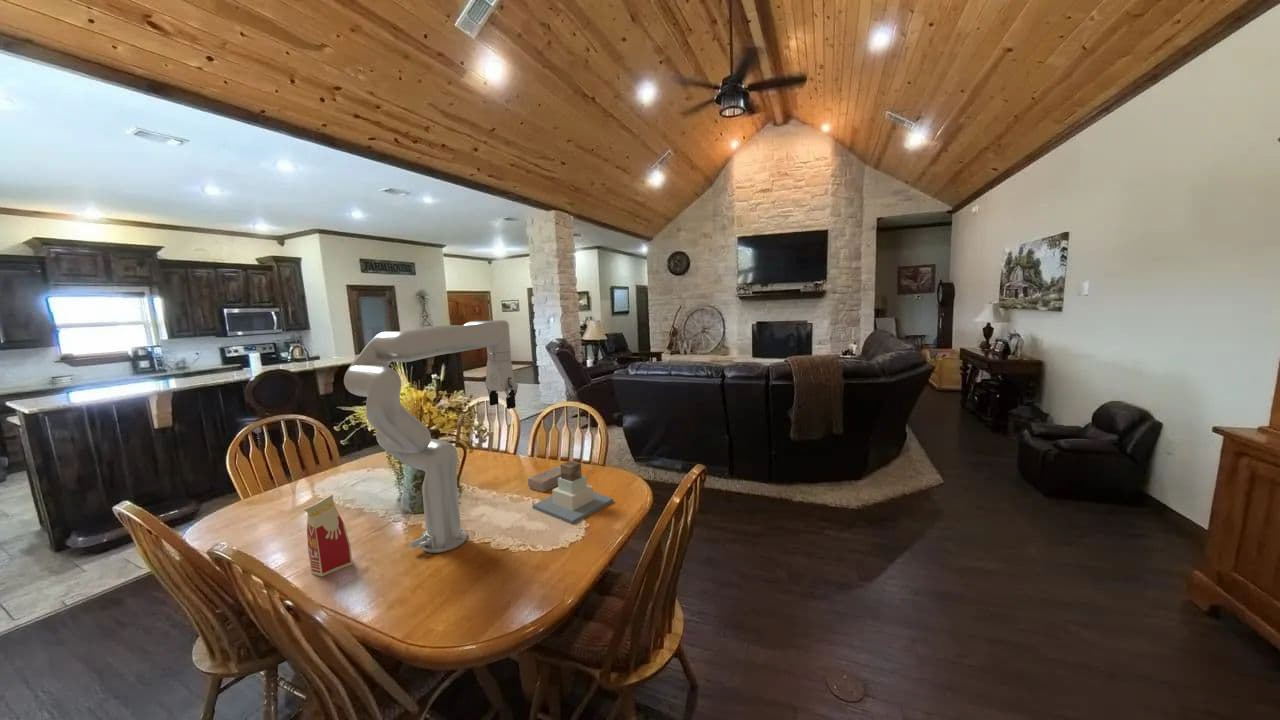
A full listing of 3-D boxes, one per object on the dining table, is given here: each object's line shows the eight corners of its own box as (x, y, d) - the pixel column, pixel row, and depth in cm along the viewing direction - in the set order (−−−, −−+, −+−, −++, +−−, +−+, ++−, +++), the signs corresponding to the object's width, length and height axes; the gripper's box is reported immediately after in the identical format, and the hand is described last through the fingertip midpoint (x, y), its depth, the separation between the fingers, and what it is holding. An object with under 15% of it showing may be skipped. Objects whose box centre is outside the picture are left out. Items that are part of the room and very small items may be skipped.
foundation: (572, 524, 144) (571, 506, 144) (532, 508, 157) (531, 491, 156) (613, 501, 160) (612, 485, 159) (574, 488, 172) (573, 473, 171)
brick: (556, 474, 187) (555, 464, 187) (571, 478, 183) (571, 467, 182) (527, 489, 173) (526, 478, 173) (543, 494, 169) (542, 482, 168)
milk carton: (342, 552, 131) (335, 487, 129) (354, 563, 125) (346, 495, 123) (305, 567, 124) (296, 498, 122) (315, 579, 118) (306, 508, 116)
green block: (572, 494, 153) (571, 482, 152) (558, 489, 157) (557, 478, 156) (586, 487, 158) (586, 476, 158) (572, 482, 162) (572, 472, 162)
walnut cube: (571, 481, 153) (570, 467, 153) (561, 478, 156) (560, 464, 156) (581, 476, 157) (580, 463, 157) (571, 473, 160) (571, 460, 160)
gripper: (475, 356, 154) (478, 405, 156) (505, 359, 143) (508, 412, 145) (494, 354, 160) (497, 401, 162) (524, 357, 149) (527, 407, 151)
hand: (502, 406), depth 154 cm, fingers open, 9 cm apart
